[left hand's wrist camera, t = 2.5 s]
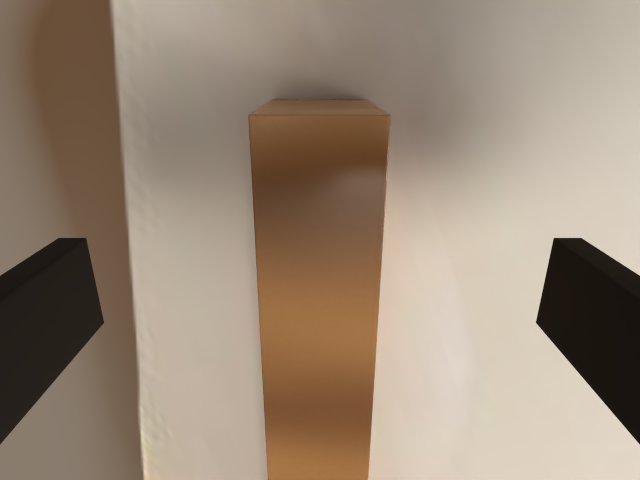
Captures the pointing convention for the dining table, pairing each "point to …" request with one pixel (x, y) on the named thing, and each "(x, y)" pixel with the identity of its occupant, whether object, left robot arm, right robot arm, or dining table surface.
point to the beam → (318, 279)
